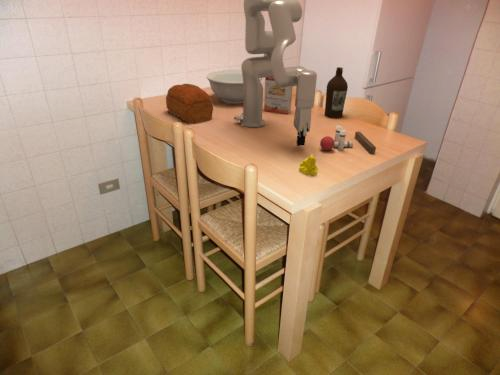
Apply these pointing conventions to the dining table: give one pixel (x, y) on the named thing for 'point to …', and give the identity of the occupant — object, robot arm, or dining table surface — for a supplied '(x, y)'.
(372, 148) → the dark grey bar
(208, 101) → the bread
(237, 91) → the bowl
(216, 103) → the dining table surface
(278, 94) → the cracker box
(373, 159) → the dining table surface
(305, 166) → the grapes
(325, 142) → the ball
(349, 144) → the front pin
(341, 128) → the pin
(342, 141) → the pin
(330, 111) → the olive oil
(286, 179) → the dining table surface
